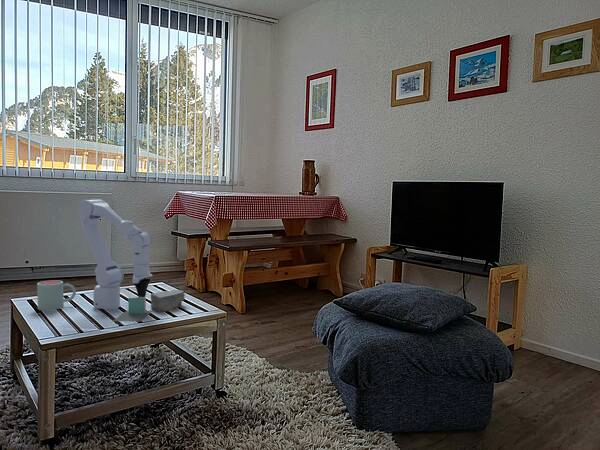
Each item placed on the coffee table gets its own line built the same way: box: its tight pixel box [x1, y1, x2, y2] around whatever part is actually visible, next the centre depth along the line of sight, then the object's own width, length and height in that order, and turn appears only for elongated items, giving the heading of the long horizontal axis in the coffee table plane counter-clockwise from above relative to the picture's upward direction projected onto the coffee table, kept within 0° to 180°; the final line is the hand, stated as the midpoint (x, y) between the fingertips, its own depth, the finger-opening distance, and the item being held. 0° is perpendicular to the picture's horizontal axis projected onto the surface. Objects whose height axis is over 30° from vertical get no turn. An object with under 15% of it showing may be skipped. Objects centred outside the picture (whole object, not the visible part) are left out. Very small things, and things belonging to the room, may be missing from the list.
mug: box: [36, 279, 77, 312], centre depth 192 cm, size 14×9×10 cm
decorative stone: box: [150, 289, 186, 313], centre depth 192 cm, size 15×7×10 cm
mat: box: [112, 309, 153, 323], centre depth 180 cm, size 10×14×1 cm
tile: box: [127, 296, 147, 314], centre depth 183 cm, size 6×2×6 cm, turn 89°
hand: (141, 297), depth 188 cm, fingers closed
